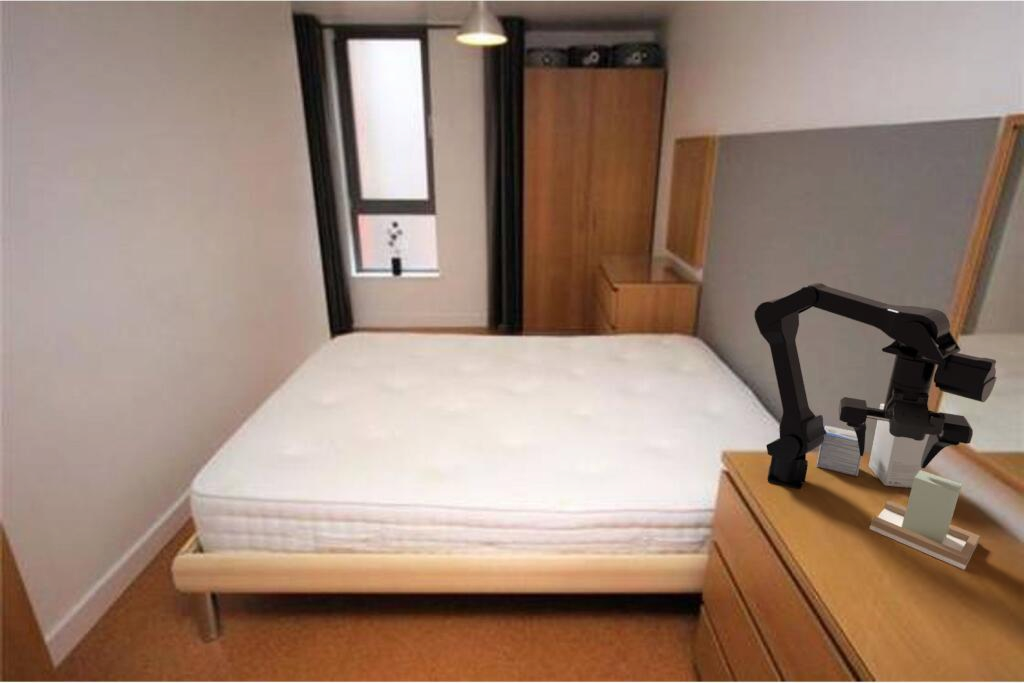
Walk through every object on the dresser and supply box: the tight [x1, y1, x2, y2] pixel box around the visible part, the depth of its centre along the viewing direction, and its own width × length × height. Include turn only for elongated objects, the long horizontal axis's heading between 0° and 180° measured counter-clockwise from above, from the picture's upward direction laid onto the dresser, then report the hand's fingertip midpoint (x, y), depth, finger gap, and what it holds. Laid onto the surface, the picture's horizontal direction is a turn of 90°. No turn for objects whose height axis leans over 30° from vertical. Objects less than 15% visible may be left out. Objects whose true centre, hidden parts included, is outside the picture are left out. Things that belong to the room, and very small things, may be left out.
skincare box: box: [868, 403, 929, 489], centre depth 113 cm, size 8×7×16 cm
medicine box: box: [816, 425, 863, 477], centre depth 118 cm, size 8×4×9 cm, turn 58°
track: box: [869, 500, 981, 571], centre depth 97 cm, size 14×10×2 cm
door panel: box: [902, 469, 963, 544], centre depth 95 cm, size 6×4×11 cm, turn 40°
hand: (891, 461), depth 97 cm, fingers open, 9 cm apart
